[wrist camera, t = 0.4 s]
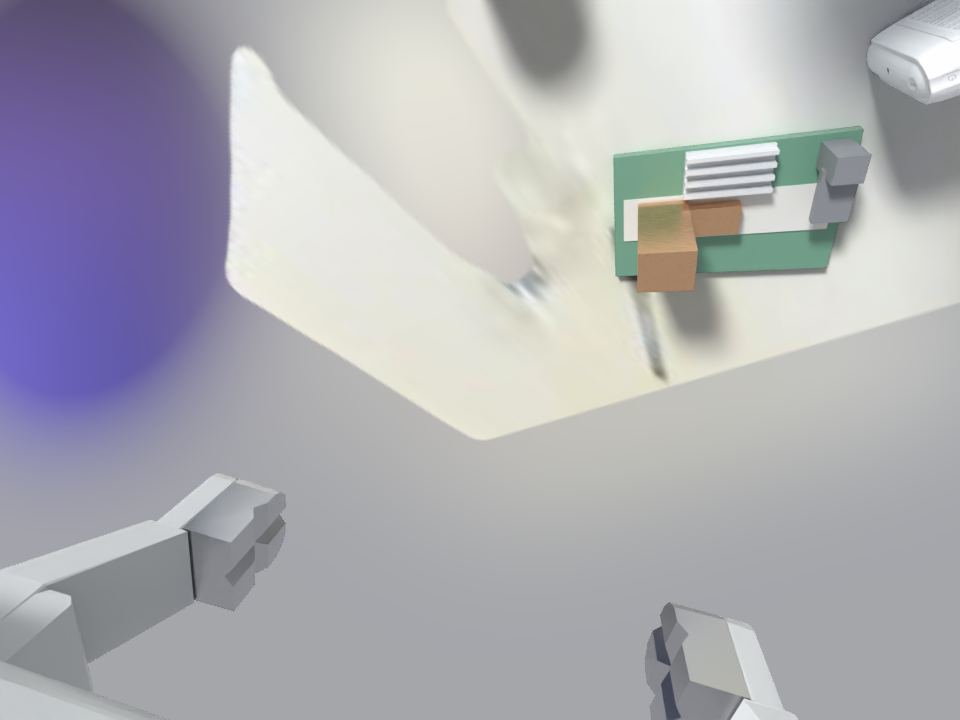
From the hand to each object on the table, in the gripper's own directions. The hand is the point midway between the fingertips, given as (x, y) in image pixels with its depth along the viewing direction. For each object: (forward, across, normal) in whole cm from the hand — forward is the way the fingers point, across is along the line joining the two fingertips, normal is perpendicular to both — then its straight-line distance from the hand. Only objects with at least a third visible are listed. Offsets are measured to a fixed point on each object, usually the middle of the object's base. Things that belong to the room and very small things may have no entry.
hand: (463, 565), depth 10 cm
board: (+51, -16, -6) cm, 54 cm away
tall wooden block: (+50, -13, -5) cm, 52 cm away
